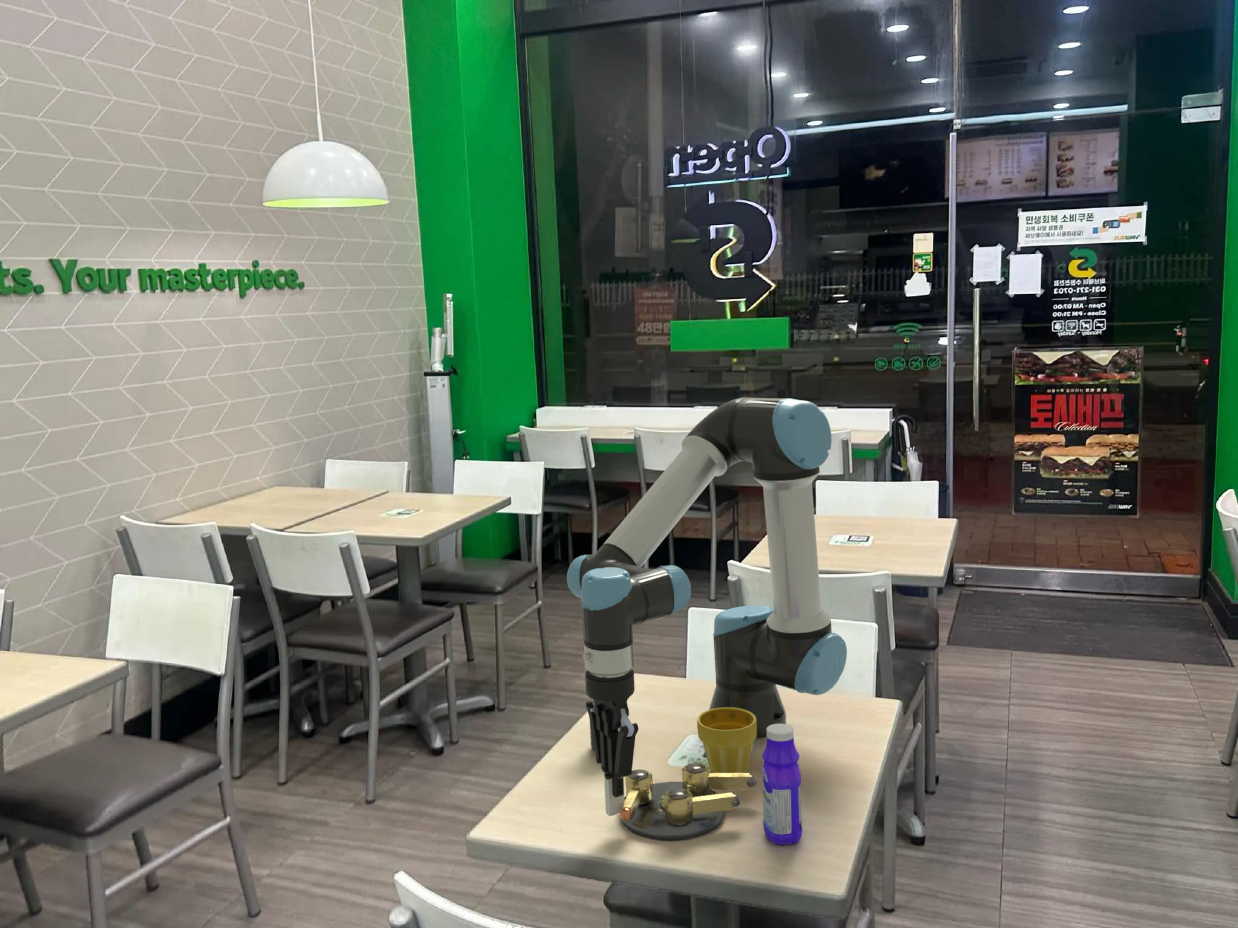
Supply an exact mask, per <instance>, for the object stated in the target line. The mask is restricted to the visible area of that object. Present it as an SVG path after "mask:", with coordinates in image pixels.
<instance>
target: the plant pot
mask: <svg viewBox="0 0 1238 928" xmlns="http://www.w3.org/2000/svg"><path fill="white" fill-rule="evenodd" d="M696 728H697V735H698V737H697V738H698V739H699V741H701V743H702V745H703V748H704V749H703V750H704V753H705V757H706V761H707V764H708V768H709V773H748V769H749V764H750V760H751V759H750V758H751V753H752V749H753V743H754V742H755V740H756V739H757V738H756V736H757V720H756V717H755V715H754V714H753V713H751V712H749V711H747V710H744V709H740V708H732V707H723V708H715V709H711V710H709V709H707V710H705V711H704V712H701V713H700V714H699V715H698V716H697V718H696Z"/></svg>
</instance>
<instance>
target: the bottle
mask: <svg viewBox="0 0 1238 928" xmlns="http://www.w3.org/2000/svg"><path fill="white" fill-rule="evenodd" d="M794 737H795V736H794V728H793V726H791V725H789V724H787V723H786V724H772V725H770V726H768V727H767V737H766V742H765V743H766V744H765V748H764V749H763V752H762V753H761V758H762V760H763V764H762V767H761V776H762V806H763V807H762V810H763V812H762V813H763V814H762V815H763V817H762V818H763V820H762V824H763V830H764V833H765V835H766V837H767V839H768V840H769V841H771V842H772V843H773V844H776V845H792V844H796V843H798V842H799V841H800V840H801V838H802V834H803V825H802V824H803V823H802V822H803V821H802V819H803V818H802V791H801V789H802V788H801V787H802V786H801V783H802V778H801V777H802V775H801V770H800V767H799V763H798V761H799V759H800V753H799V752H798V750H797V748H796V744H795V741H794V740H795V738H794Z"/></svg>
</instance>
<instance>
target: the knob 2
mask: <svg viewBox="0 0 1238 928" xmlns="http://www.w3.org/2000/svg"><path fill="white" fill-rule="evenodd" d="M664 801H665V819H666V820H667V821H668V822H671V823H675V824H683V823H687V822H689V821H691V820H692V819H693V815H697V814H705V813H713V812H720V811H726V812H727V811H735V808H738V807H739V806H740V805H741V803H742V800H741V797H740V796H739V795H738V794H736V793H735V794H733V792H726V793H725V792H724V793H718V794H716V795H708V796H700V797H692V793H691V792H690V791H688V790H686V789H682V788H675V789H671V790H669V791H667V792H666V793H665V794H664Z"/></svg>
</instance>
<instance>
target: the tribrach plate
mask: <svg viewBox="0 0 1238 928" xmlns="http://www.w3.org/2000/svg"><path fill="white" fill-rule="evenodd" d="M675 788H682V789H683V781H663V782H656V783H653V798H652V799H651V800H650V801H648V802H645V803H640V804H639V806H638V808H637V810H636V812H635V814H634V816H633V818H632V820H631V821H623V820H622V819H621V818H620V817H619V818H620V822H621V825H622V826H623V827H624V828H625V829H626V830H627V831H629V832H631V833H632V834H634V835H636V836H639V837H642V838H644V839H648V840H649V839H650V840H654V841H661V842H666V841H667V842H677V841H685V840H693V839H696V838H700V837H703V836H705V835H707V834H710V833H712V832H714V831H715V830H716V829H717V828H719V827H720V826H721V825H722V824H723V822H724V820H725V817H726V816H725V815H726V812H725V811H720V812H713V813H705V814H697V815H693V819H692V820H691V821H689V822H687V823H683V824H675V823H671V822H668V821H667V820H666V819H665V801H664V794H665V793H666V792H667V791H669V790H671V789H675ZM716 794H719V793H718V792H716V790H714V789H710V791H709V792H708V793H707V794H705V795H701V796H708V795H716ZM692 797H700V796H692ZM625 800H626V795H624V802H625Z"/></svg>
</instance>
